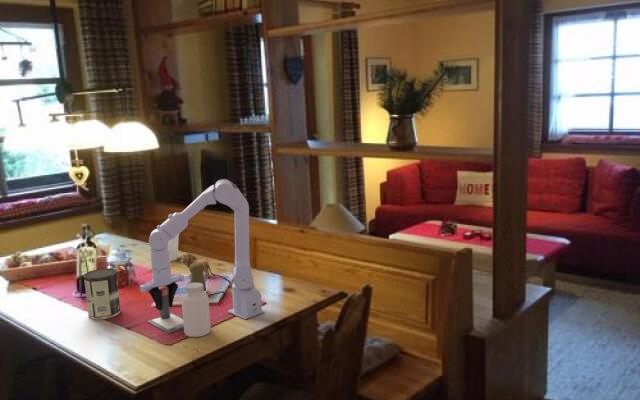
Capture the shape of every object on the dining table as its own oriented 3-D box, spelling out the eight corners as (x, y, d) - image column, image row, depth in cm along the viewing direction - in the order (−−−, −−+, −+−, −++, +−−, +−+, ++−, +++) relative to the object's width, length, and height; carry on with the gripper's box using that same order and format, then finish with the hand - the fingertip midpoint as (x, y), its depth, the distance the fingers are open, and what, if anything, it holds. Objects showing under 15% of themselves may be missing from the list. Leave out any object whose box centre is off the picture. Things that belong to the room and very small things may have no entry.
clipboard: (194, 324, 179) (194, 320, 179) (168, 333, 173) (168, 329, 173) (172, 313, 189) (172, 310, 188) (147, 322, 182) (147, 318, 182)
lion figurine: (179, 276, 226) (177, 254, 224) (186, 272, 231) (184, 250, 229) (213, 279, 222) (211, 257, 220) (219, 274, 227) (217, 253, 225)
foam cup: (169, 263, 243) (167, 233, 240) (154, 260, 248) (151, 231, 245) (185, 257, 251) (183, 228, 248) (170, 254, 256) (168, 226, 253)
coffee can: (113, 305, 197) (109, 266, 195) (125, 313, 190) (121, 273, 187) (83, 313, 191) (78, 273, 188) (94, 322, 183) (90, 280, 180)
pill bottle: (199, 324, 180) (196, 279, 177) (216, 331, 174) (213, 284, 172) (178, 333, 174) (174, 286, 171) (195, 340, 168) (192, 291, 166)
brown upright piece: (209, 289, 210) (207, 261, 208) (204, 295, 204) (202, 266, 202) (193, 289, 211) (190, 260, 209) (187, 295, 205) (185, 266, 203)
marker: (172, 316, 184) (170, 287, 182) (163, 319, 181) (160, 290, 180) (167, 313, 186) (164, 285, 184) (157, 316, 184) (155, 288, 182)
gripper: (174, 259, 188) (177, 298, 191) (133, 269, 178) (137, 311, 181) (186, 263, 183) (189, 303, 186) (144, 274, 173) (148, 316, 176)
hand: (164, 307), depth 183 cm, fingers closed on marker, 3 cm apart
